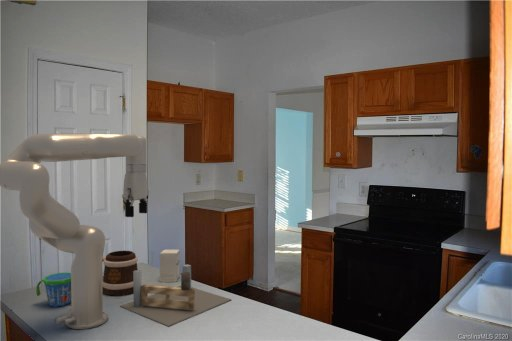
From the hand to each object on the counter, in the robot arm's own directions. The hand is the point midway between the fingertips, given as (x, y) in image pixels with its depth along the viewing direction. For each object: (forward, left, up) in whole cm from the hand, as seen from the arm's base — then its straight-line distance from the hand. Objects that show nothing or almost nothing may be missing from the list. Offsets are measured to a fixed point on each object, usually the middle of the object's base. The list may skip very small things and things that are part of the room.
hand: (136, 214), depth 150 cm
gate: (+1, -17, -31) cm, 35 cm away
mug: (+2, +17, -33) cm, 37 cm away
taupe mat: (+7, -14, -32) cm, 36 cm away
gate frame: (+8, -6, -32) cm, 34 cm away
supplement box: (+24, +10, -32) cm, 42 cm away
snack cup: (-20, +19, -32) cm, 43 cm away
